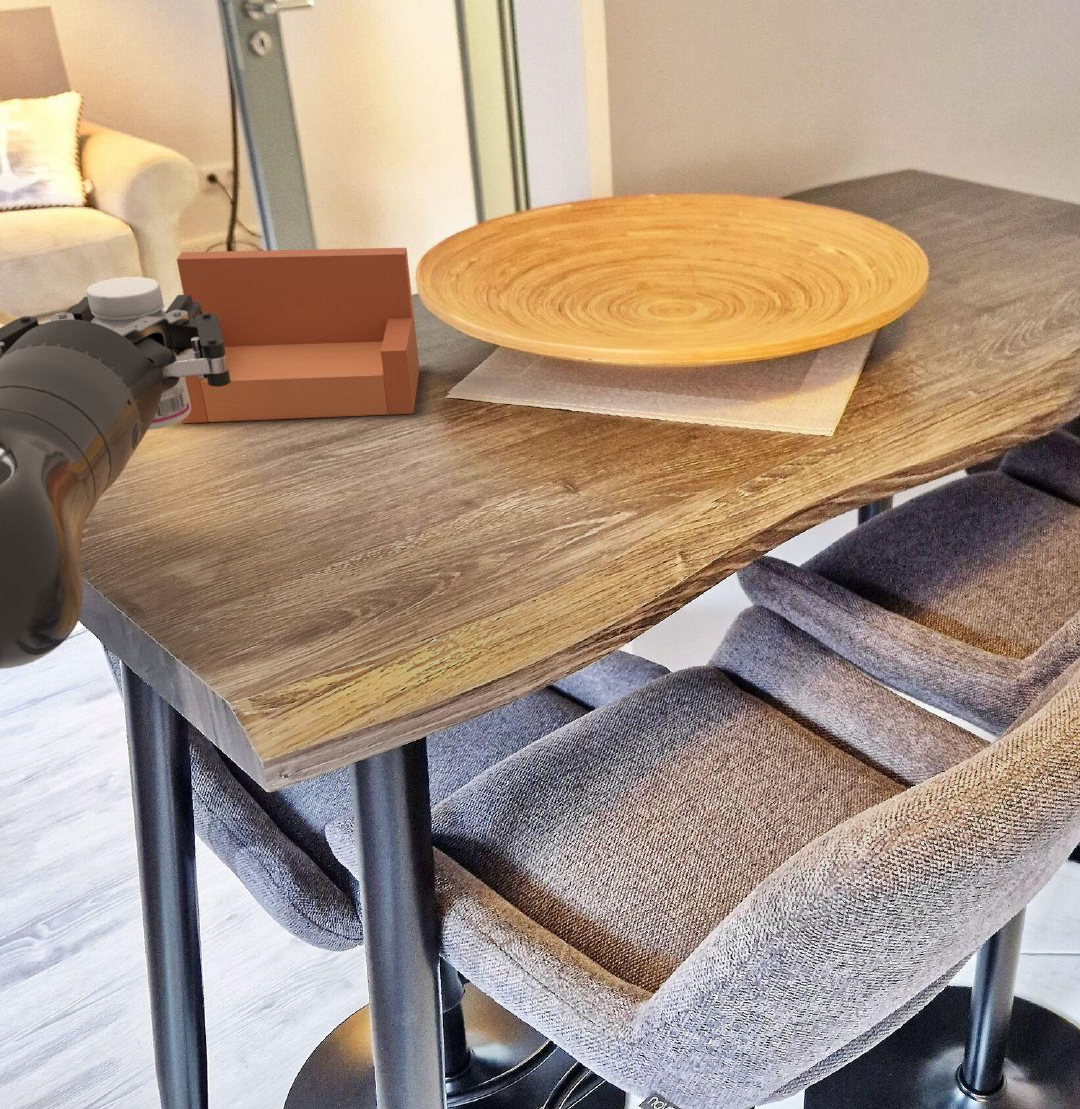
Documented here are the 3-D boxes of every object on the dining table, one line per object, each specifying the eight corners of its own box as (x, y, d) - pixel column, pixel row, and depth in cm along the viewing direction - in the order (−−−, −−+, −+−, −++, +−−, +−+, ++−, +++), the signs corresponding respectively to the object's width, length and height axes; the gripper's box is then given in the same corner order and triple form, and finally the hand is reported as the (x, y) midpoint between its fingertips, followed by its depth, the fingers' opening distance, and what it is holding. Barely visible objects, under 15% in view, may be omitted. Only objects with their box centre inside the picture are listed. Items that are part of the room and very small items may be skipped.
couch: (181, 423, 98) (152, 289, 92) (206, 377, 106) (181, 252, 101) (413, 413, 101) (398, 282, 95) (419, 369, 109) (406, 247, 104)
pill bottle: (114, 406, 78) (84, 276, 74) (194, 399, 80) (169, 272, 76) (105, 435, 74) (73, 300, 70) (189, 428, 76) (163, 295, 72)
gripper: (195, 343, 61) (253, 249, 76) (-120, 351, 59) (2, 252, 74) (221, 478, 65) (271, 364, 80) (-74, 491, 63) (33, 371, 77)
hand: (141, 311), depth 76 cm, fingers closed on pill bottle, 4 cm apart
